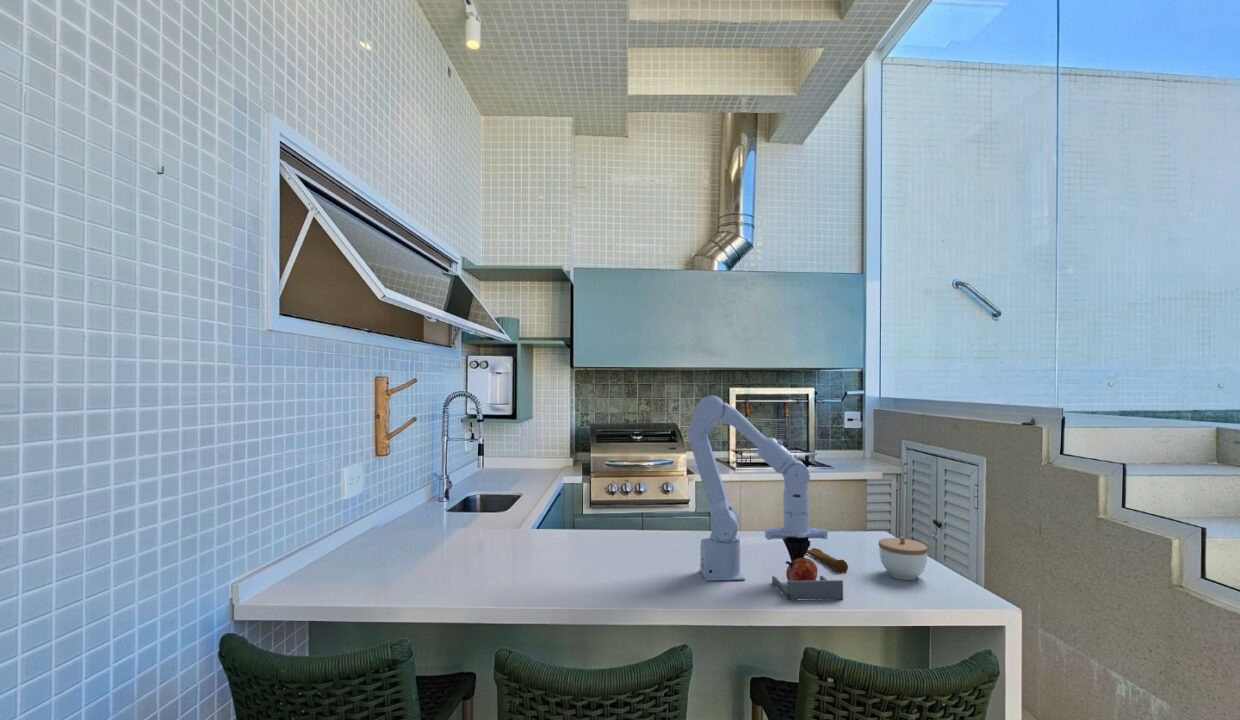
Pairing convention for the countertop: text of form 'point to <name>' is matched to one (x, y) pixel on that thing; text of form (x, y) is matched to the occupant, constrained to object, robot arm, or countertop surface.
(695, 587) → the countertop surface
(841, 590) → the box
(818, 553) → the primitive tool
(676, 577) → the countertop surface
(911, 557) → the lidded jar
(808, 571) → the pomegranate
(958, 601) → the countertop surface
